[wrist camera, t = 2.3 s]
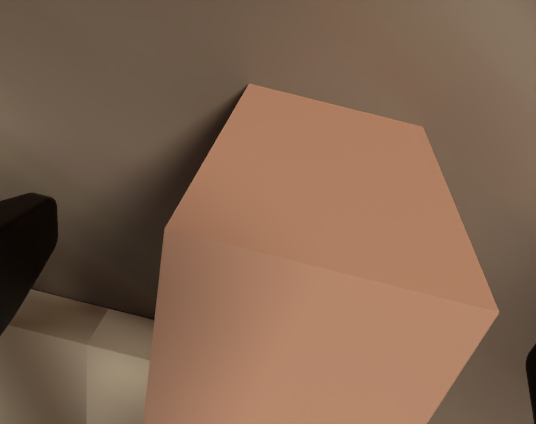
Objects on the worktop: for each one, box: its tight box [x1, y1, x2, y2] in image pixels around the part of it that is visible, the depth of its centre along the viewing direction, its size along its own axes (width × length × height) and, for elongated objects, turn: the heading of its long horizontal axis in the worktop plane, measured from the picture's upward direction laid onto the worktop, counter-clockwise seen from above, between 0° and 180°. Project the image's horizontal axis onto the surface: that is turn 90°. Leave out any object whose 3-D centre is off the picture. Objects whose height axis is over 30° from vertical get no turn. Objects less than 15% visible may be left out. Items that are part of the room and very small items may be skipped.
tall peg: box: [143, 84, 499, 424], centre depth 9 cm, size 4×4×6 cm
